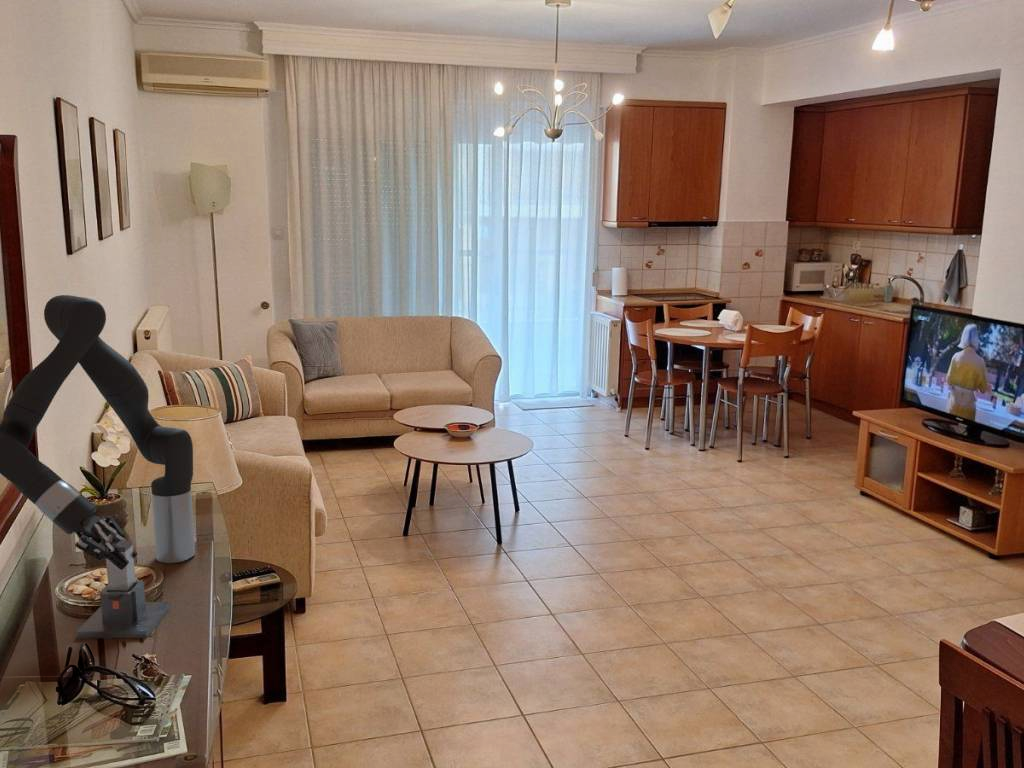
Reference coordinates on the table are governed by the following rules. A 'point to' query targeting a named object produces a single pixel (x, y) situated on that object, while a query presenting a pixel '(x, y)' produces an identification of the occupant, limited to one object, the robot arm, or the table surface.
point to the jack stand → (124, 615)
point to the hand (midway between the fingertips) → (129, 561)
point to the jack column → (126, 576)
